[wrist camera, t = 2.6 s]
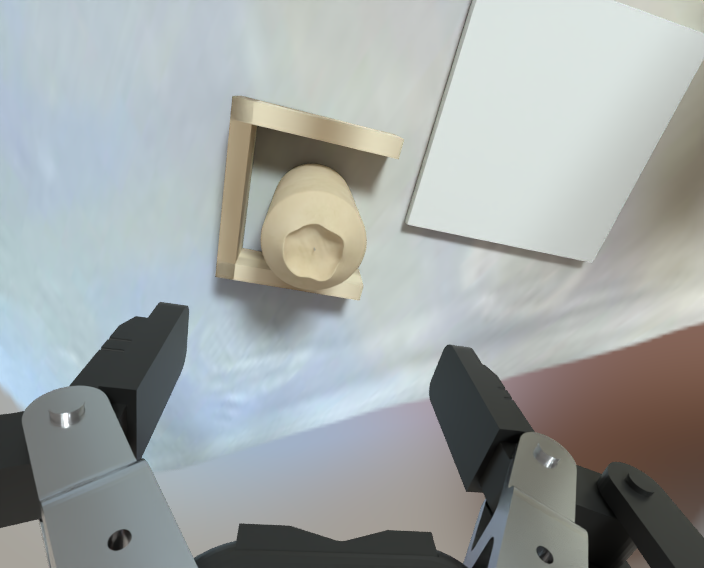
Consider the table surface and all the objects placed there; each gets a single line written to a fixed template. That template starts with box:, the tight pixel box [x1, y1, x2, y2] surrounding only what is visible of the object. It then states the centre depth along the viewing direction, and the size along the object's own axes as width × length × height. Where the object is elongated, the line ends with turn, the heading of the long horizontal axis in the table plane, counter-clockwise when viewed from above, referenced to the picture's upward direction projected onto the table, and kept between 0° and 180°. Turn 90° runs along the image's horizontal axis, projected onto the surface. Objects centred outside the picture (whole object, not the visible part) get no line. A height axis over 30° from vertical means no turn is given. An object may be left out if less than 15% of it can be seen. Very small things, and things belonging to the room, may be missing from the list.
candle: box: [261, 164, 367, 290], centre depth 23 cm, size 6×6×10 cm
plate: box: [405, 0, 704, 263], centre depth 27 cm, size 16×16×1 cm
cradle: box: [215, 96, 404, 300], centre depth 26 cm, size 10×11×3 cm
